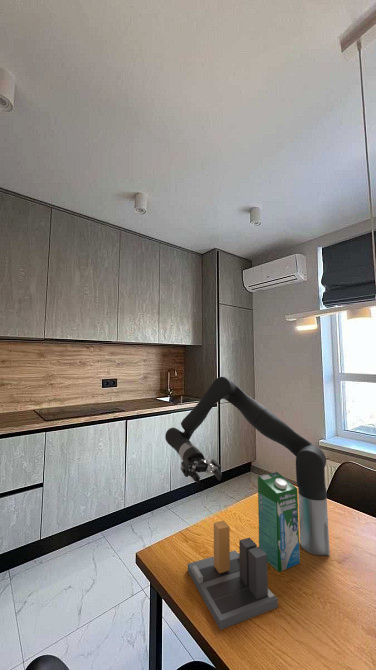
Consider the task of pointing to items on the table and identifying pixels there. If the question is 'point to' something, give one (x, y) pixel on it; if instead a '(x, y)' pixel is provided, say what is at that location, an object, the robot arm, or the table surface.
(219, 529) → the tall tan rectangular block
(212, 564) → the grey slotted tray
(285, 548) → the milk carton
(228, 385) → the robot arm
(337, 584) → the table surface
